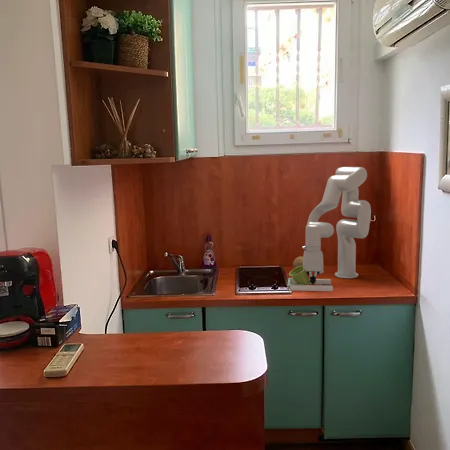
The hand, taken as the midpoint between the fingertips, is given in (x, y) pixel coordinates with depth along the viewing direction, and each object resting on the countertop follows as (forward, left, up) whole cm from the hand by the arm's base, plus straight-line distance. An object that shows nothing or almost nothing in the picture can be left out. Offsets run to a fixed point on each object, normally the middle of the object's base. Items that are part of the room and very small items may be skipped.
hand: (312, 283), depth 237 cm
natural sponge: (-28, -6, -2) cm, 29 cm away
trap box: (-1, -2, -2) cm, 3 cm away
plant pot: (-1, -4, -1) cm, 4 cm away
